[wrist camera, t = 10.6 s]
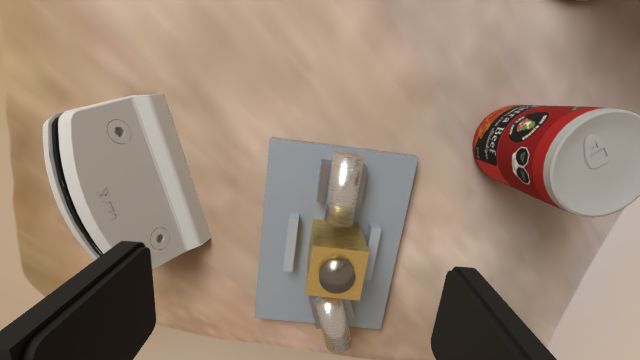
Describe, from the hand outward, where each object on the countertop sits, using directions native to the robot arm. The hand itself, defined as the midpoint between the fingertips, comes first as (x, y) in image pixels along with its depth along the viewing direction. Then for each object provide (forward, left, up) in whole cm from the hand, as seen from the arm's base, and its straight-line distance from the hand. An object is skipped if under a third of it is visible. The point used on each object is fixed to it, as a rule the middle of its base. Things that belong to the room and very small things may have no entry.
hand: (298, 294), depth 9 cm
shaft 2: (-5, +16, -23) cm, 28 cm away
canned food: (-20, -4, -23) cm, 31 cm away
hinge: (+16, +4, -23) cm, 28 cm away
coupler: (-4, +9, -21) cm, 23 cm away
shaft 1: (-3, +2, -23) cm, 23 cm away
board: (-3, +9, -23) cm, 25 cm away
